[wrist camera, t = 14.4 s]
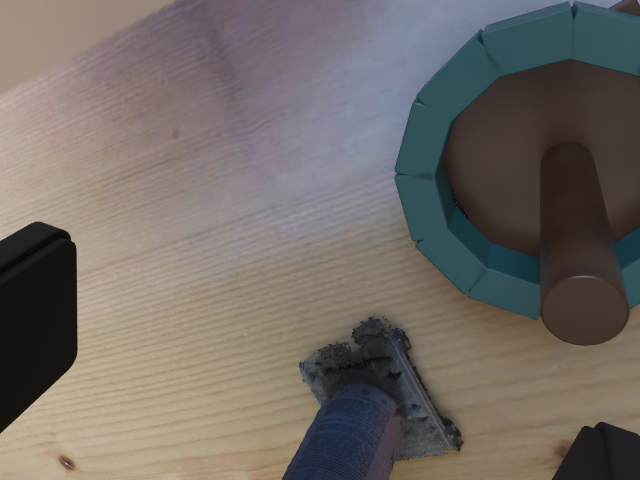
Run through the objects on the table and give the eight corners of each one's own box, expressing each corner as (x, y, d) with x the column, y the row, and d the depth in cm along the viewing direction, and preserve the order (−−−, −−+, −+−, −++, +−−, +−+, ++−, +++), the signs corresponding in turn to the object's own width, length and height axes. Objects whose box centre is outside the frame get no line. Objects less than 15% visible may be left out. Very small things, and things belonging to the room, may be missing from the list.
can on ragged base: (283, 362, 35) (175, 538, 24) (386, 303, 31) (310, 485, 21) (380, 473, 36) (316, 684, 26) (490, 431, 32) (467, 660, 22)
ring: (381, 240, 28) (368, 264, 26) (455, -28, 22) (446, -25, 20) (639, 324, 26) (647, 358, 24) (795, 52, 20) (823, 65, 18)
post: (417, 117, 26) (336, 233, 16) (631, -5, 22) (713, 45, 11) (514, 283, 28) (499, 485, 18) (729, 201, 24) (877, 405, 13)
